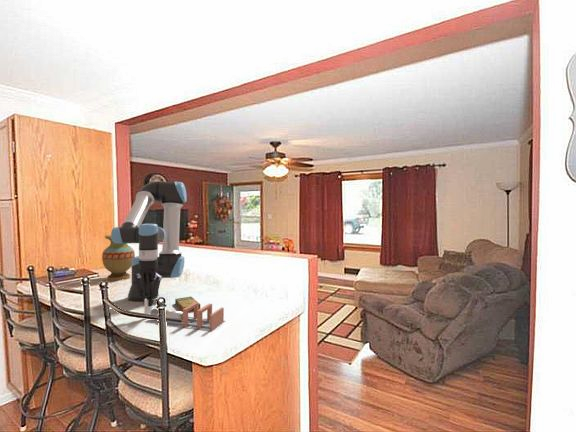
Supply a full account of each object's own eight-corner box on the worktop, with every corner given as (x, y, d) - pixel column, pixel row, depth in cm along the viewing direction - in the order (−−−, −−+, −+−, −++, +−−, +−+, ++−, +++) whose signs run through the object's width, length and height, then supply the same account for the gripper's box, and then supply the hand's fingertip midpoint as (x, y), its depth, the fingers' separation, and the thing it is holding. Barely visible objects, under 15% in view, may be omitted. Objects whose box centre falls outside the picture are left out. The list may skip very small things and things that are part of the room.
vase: (116, 282, 197) (116, 237, 196) (95, 280, 204) (95, 235, 203) (141, 276, 215) (141, 234, 215) (120, 274, 222) (120, 233, 222)
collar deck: (154, 327, 124) (154, 307, 124) (172, 317, 136) (172, 299, 136) (211, 334, 118) (211, 313, 117) (225, 323, 129) (225, 304, 129)
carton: (182, 316, 138) (182, 306, 138) (174, 306, 152) (174, 298, 152) (200, 312, 143) (200, 303, 143) (191, 303, 156) (191, 295, 156)
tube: (149, 319, 129) (149, 310, 129) (156, 316, 133) (156, 307, 133) (182, 323, 125) (182, 314, 125) (188, 320, 129) (188, 311, 129)
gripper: (129, 259, 129) (129, 314, 130) (155, 261, 126) (154, 317, 126) (142, 257, 137) (141, 309, 137) (166, 258, 133) (166, 312, 134)
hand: (148, 313), depth 132 cm, fingers closed
